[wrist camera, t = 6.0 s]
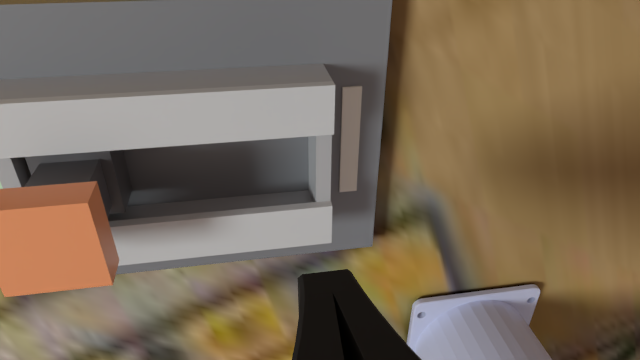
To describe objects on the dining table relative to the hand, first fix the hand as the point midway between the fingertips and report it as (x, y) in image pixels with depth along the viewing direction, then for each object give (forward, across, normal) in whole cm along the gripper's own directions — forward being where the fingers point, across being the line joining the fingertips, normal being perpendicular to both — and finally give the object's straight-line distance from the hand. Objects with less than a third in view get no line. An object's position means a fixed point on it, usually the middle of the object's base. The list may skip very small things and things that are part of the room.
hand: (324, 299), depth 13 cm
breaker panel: (+10, +4, 0) cm, 11 cm away
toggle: (+9, +8, 0) cm, 12 cm away
